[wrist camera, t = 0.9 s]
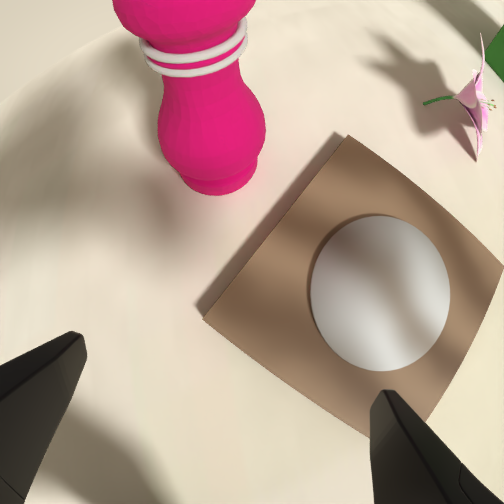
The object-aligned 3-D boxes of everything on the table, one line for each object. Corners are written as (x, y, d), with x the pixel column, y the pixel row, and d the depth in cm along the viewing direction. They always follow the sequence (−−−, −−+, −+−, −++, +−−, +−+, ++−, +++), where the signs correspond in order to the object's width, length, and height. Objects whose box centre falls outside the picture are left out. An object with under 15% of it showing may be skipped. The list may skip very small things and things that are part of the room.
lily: (430, 186, 26) (523, 169, 17) (377, 67, 23) (464, 25, 15) (465, 153, 31) (533, 138, 22) (425, 62, 28) (490, 36, 20)
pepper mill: (282, 169, 25) (325, -93, 5) (203, 220, 24) (97, -43, 4) (230, 110, 26) (210, -115, 6) (157, 154, 25) (56, -64, 6)
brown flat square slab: (393, 451, 20) (402, 458, 18) (204, 319, 22) (201, 319, 20) (496, 269, 23) (507, 265, 21) (344, 141, 25) (349, 131, 24)
